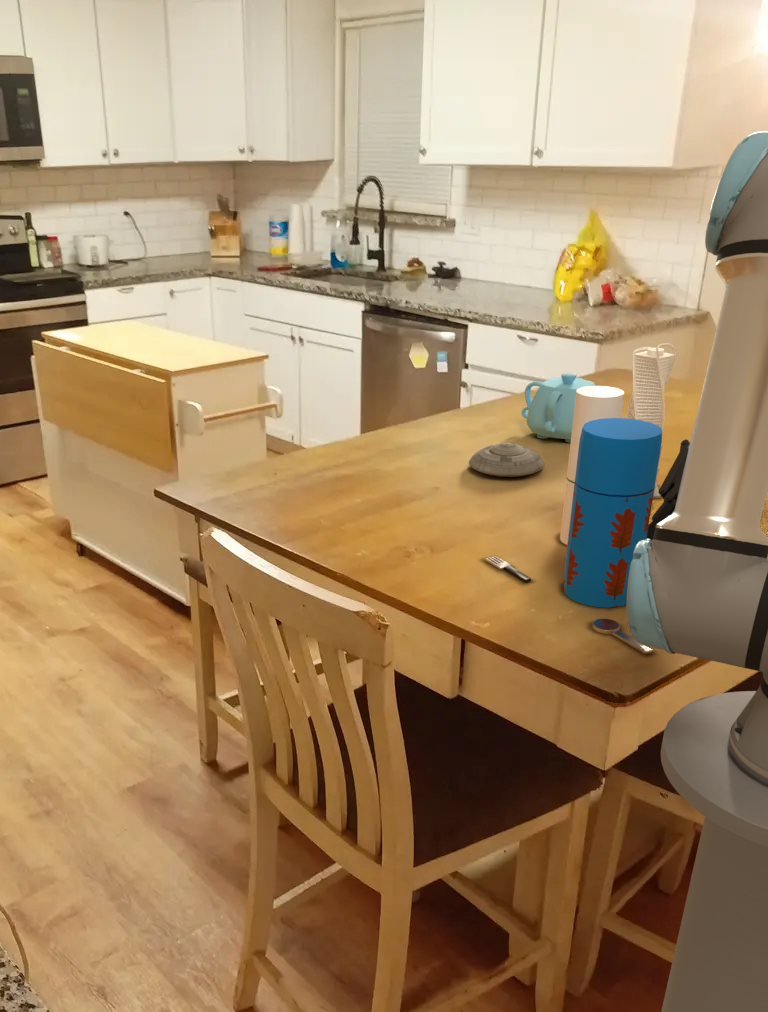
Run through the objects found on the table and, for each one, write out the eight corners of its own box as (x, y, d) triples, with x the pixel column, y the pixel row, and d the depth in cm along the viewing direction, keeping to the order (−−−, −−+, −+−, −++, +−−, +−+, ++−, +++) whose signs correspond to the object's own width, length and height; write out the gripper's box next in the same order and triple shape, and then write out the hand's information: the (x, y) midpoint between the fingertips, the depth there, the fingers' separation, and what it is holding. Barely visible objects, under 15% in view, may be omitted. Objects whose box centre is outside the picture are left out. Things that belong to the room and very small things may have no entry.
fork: (534, 580, 147) (534, 577, 146) (522, 583, 146) (522, 580, 146) (495, 557, 155) (495, 555, 154) (484, 560, 154) (484, 557, 154)
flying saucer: (524, 487, 183) (526, 459, 181) (455, 474, 192) (456, 447, 189) (555, 465, 194) (558, 439, 191) (489, 454, 202) (490, 429, 199)
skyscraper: (662, 500, 175) (687, 344, 161) (616, 499, 176) (637, 344, 163) (656, 485, 182) (679, 335, 168) (611, 484, 183) (631, 334, 170)
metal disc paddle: (658, 650, 126) (659, 646, 126) (638, 656, 125) (638, 652, 125) (606, 620, 135) (607, 616, 134) (586, 625, 133) (587, 621, 133)
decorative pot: (536, 448, 205) (542, 384, 198) (516, 426, 219) (521, 367, 212) (610, 444, 205) (619, 381, 199) (586, 423, 219) (593, 363, 213)
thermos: (645, 585, 144) (672, 423, 132) (626, 614, 136) (652, 444, 124) (574, 571, 149) (594, 414, 137) (552, 598, 141) (570, 433, 129)
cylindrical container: (596, 551, 156) (617, 399, 144) (554, 543, 159) (570, 394, 147) (609, 536, 161) (629, 388, 149) (567, 529, 164) (584, 384, 152)
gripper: (796, 442, 137) (690, 571, 139) (725, 421, 148) (627, 541, 150) (778, 411, 133) (668, 544, 135) (706, 391, 143) (605, 515, 145)
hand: (647, 542), depth 142 cm, fingers closed
